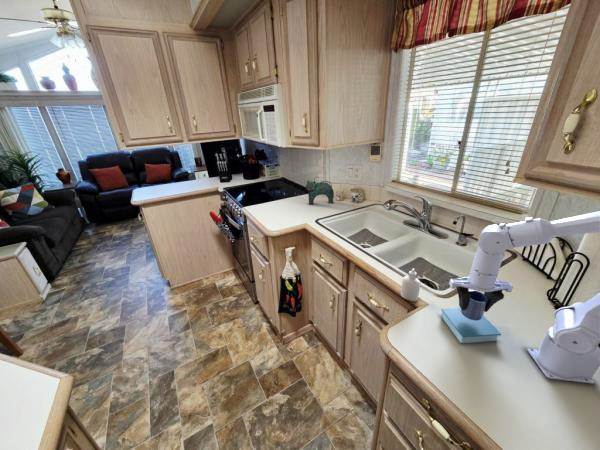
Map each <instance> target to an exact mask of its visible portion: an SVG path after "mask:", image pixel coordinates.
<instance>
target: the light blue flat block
mask: <svg viewBox="0 0 600 450" xmlns="http://www.w3.org/2000/svg"><path fill="white" fill-rule="evenodd" d="M441 318H442V319H443V321H444V322H445V323H446V325H447V326H448V328H449V329H450V331H451V332H452V333H453V335H454V336H455V337H456V338H457V340H458V342H459V343H460V344H469V343H471V344H472V343H483V342H484V343H485V342H496V341H497V340H498V338H499V336H502V333H501V332H500V331H499V330H498V329H497V328H496V326H494V324H492V323H491V322H490V320H488V318H487V317H485V315H484V314H483V317H482V319H481V320H477V321H476V320H471V319H468V318H466V317H465V316H464V315H463V314H462V313H461V308H460V307H450V308H449V307H448V308H441Z"/></svg>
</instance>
